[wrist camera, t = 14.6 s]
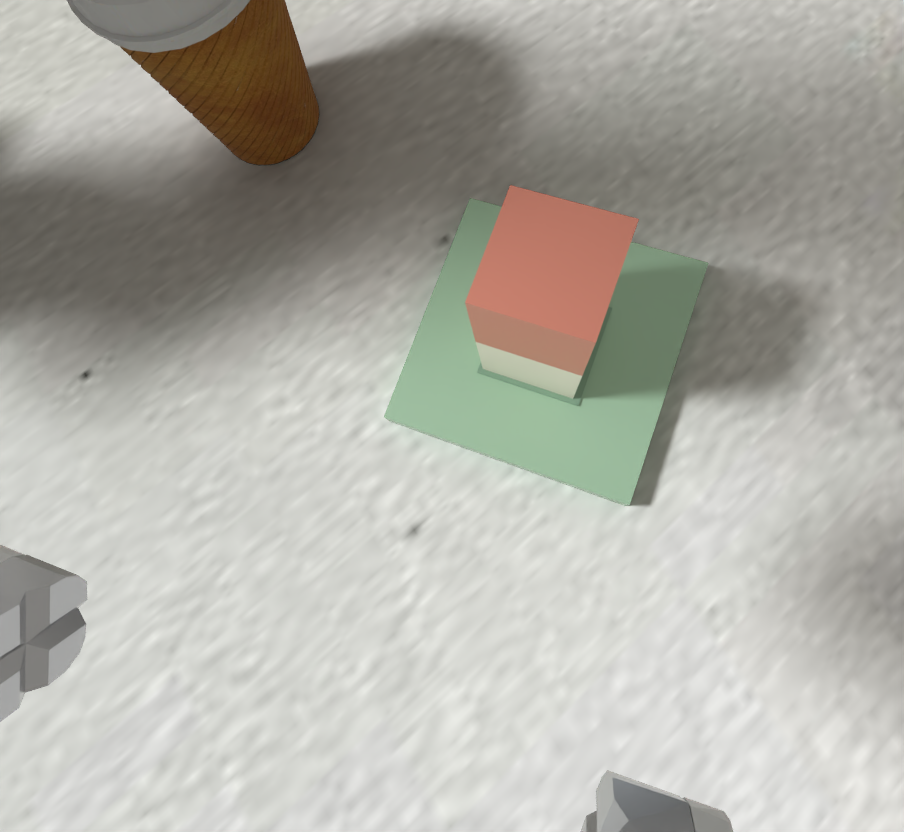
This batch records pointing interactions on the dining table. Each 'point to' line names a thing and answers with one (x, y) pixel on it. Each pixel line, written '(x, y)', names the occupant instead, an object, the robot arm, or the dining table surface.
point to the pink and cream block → (546, 287)
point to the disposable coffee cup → (220, 66)
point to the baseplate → (541, 411)
